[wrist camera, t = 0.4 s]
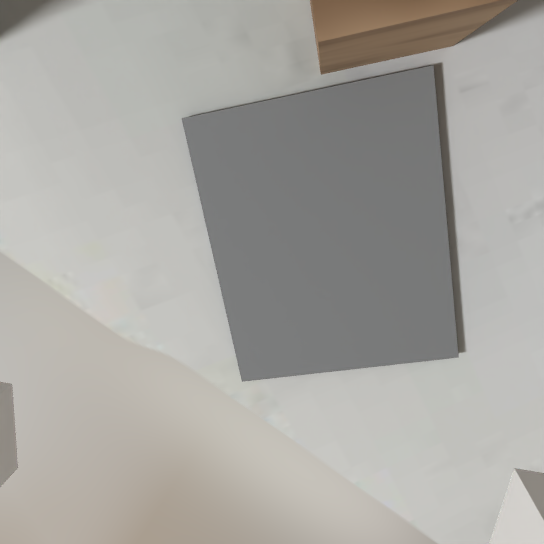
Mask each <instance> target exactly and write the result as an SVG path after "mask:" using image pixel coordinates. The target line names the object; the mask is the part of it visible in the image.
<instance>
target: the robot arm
mask: <svg viewBox="0 0 544 544" xmlns="http://www.w3.org/2000/svg"><path fill="white" fill-rule="evenodd" d="M12 391H13V390H12V384H9V383H3V382H0V487H1V485H3V484H4V482H5V481H6V480H7V479H8V478H9V477H10V476H11V475H12V474H13V473H14V471H15V470H16V469H17V468H18V464H17V448H16V434H15V421H14V420H15V419H14V405H13V392H12ZM489 544H544V473H539V472H533V471H527V470H522V469H516V468H514V471H513V474H512V477H511V480H510V483H509V486H508V489H507V492H506V495H505V498H504V501H503V504H502V507H501V510H500V513H499V516H498V519H497V522H496V525H495V528H494V531H493V534H492V537H491V540H490V543H489Z"/></svg>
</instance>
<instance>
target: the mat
mask: <svg viewBox="0 0 544 544" xmlns="http://www.w3.org/2000/svg"><path fill="white" fill-rule="evenodd" d="M182 122H183V126H184V130H185V135H186V139H187V143H188V148H189V152H190V156H191V161H192V165H193V170H194V174H195V178H196V183H197V187H198V191H199V196H200V200H201V204H202V209H203V213H204V218H205V222H206V226H207V231H208V235H209V239H210V244H211V248H212V253H213V257H214V261H215V266H216V270H217V274H218V279H219V283H220V287H221V292H222V296H223V301H224V305H225V309H226V314H227V318H228V322H229V327H230V331H231V335H232V340H233V344H234V349H235V353H236V357H237V362H238V366H239V370H240V375H241V379H242V381H251V380H260V379H269V378H278V377H287V376H296V375H305V374H314V373H323V372H332V371H341V370H350V369H359V368H368V367H377V366H386V365H395V364H403V363H412V362H421V361H430V360H439V359H448V358H457V357H458V345H457V333H456V322H455V310H454V298H453V287H452V275H451V263H450V252H449V240H448V229H447V217H446V205H445V194H444V182H443V170H442V159H441V147H440V136H439V124H438V112H437V101H436V89H435V77H434V66H433V65H432V66H427V67H422V68H418V69H413V70H408V71H403V72H399V73H394V74H389V75H385V76H380V77H375V78H370V79H366V80H361V81H356V82H352V83H347V84H342V85H337V86H333V87H328V88H323V89H318V90H314V91H309V92H304V93H300V94H295V95H290V96H285V97H281V98H276V99H271V100H267V101H262V102H257V103H252V104H248V105H243V106H238V107H234V108H229V109H224V110H219V111H215V112H210V113H205V114H200V115H196V116H191V117H186V118H182Z"/></svg>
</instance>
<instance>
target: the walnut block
mask: <svg viewBox="0 0 544 544" xmlns="http://www.w3.org/2000/svg"><path fill="white" fill-rule="evenodd" d="M517 1H518V0H310V4H311V11H312V17H313V24H314V31H315V38H316V44H317V51H318V58H319V65H320V71H321V74H326V73H330V72H335V71H340V70H344V69H349V68H354V67H358V66H363V65H367V64H372V63H377V62H381V61H386V60H390V59H395V58H400V57H404V56H409V55H413V54H418V53H423V52H427V51H432V50H437V49H441V48H446V47H450V46H453V45H455V44H456V43H458V42H459V41H461V40H462V39H464V38H465V37H466V36H468V35H469V34H471V33H472V32H474V31H475V30H476V29H478V28H479V27H481V26H482V25H484V24H485V23H486V22H488V21H489V20H491V19H492V18H494V17H495V16H496V15H498V14H499V13H501V12H502V11H504V10H505V9H506V8H508V7H509V6H511V5H512V4H514V3H515V2H517Z"/></svg>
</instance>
